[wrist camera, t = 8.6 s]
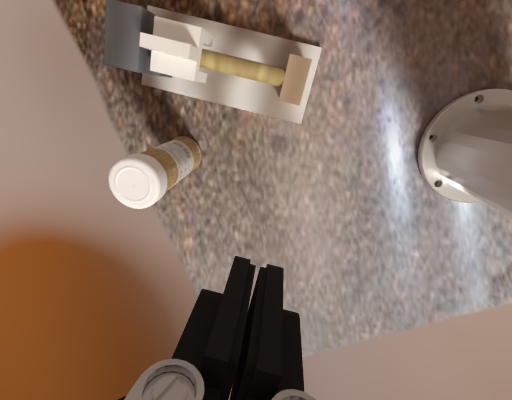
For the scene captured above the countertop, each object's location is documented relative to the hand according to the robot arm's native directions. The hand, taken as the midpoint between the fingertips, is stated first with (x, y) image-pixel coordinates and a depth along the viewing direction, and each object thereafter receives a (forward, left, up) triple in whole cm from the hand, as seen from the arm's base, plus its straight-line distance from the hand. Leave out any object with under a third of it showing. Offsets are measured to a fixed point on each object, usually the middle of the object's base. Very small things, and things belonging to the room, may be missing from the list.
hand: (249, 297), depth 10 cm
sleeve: (+11, -8, -22) cm, 26 cm away
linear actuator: (+7, -8, -27) cm, 29 cm away
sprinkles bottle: (+11, +3, -27) cm, 30 cm away
